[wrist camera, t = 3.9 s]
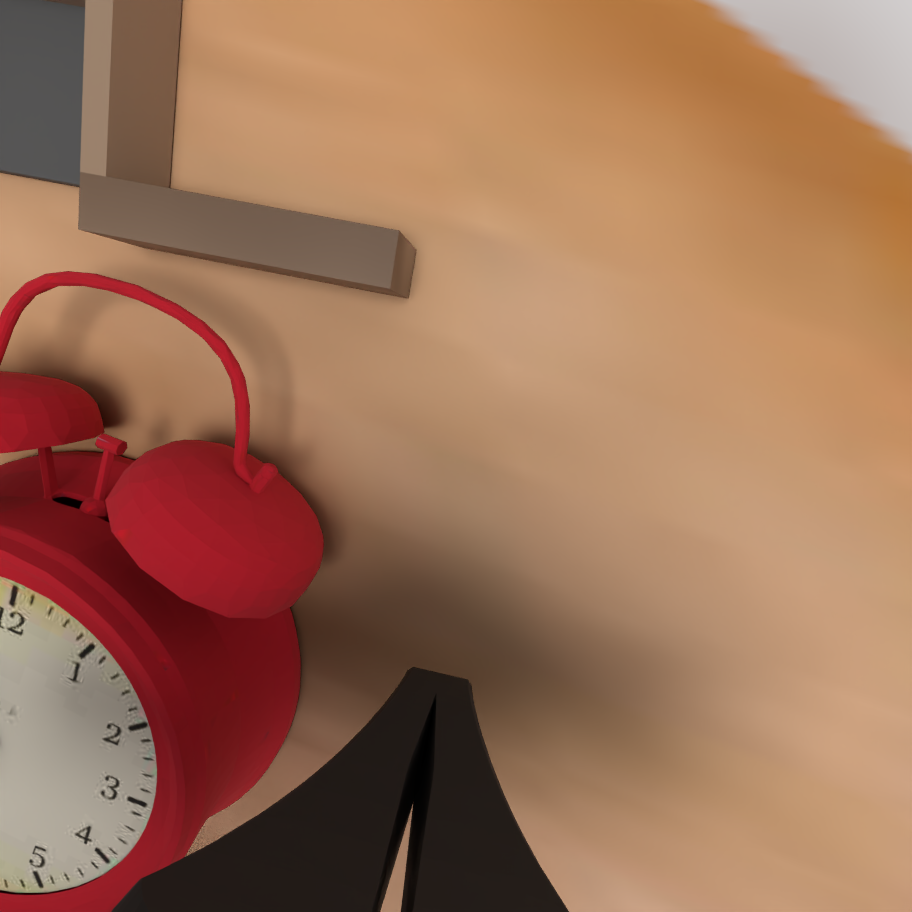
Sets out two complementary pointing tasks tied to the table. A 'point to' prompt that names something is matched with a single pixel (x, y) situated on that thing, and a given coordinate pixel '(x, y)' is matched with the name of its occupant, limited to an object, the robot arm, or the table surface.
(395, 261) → the wall
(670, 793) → the table surface
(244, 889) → the robot arm
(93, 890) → the alarm clock
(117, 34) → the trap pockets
